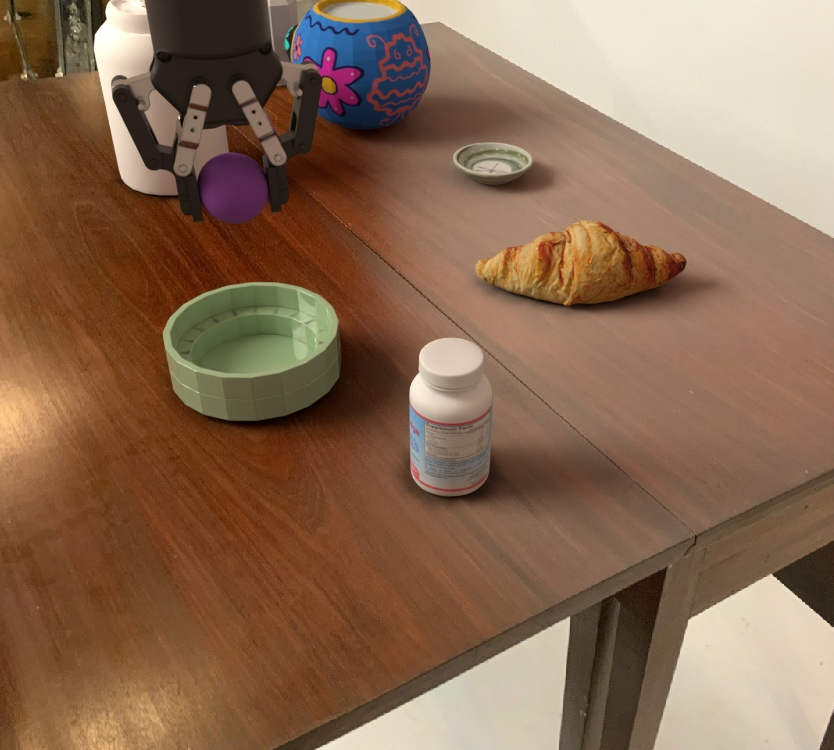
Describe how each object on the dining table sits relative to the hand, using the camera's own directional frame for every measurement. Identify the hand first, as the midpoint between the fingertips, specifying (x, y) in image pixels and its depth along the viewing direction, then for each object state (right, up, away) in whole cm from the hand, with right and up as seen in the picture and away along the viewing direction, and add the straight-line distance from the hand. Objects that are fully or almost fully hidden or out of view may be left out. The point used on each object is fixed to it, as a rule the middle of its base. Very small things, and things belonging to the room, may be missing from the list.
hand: (236, 211), depth 71 cm
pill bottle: (+15, -20, +5) cm, 25 cm away
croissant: (+27, -3, +28) cm, 39 cm away
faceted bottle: (-13, +31, +70) cm, 78 cm away
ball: (0, +1, -1) cm, 2 cm away
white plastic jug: (-19, +12, +44) cm, 49 cm away
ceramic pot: (+1, +22, +59) cm, 63 cm away
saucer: (+18, +12, +47) cm, 52 cm away
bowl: (-2, -12, +14) cm, 18 cm away
